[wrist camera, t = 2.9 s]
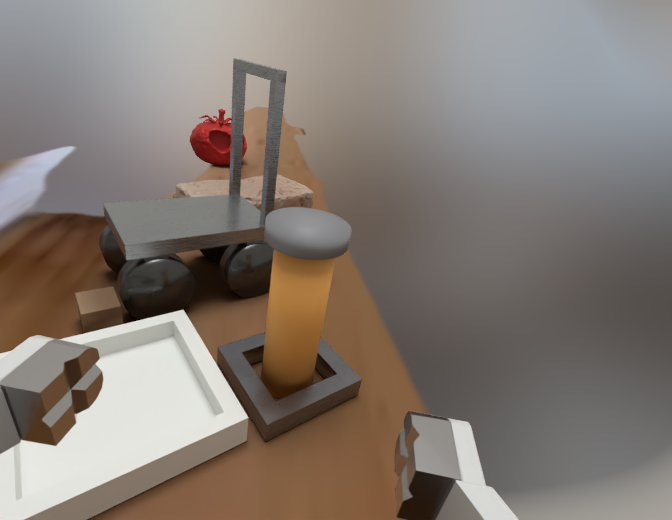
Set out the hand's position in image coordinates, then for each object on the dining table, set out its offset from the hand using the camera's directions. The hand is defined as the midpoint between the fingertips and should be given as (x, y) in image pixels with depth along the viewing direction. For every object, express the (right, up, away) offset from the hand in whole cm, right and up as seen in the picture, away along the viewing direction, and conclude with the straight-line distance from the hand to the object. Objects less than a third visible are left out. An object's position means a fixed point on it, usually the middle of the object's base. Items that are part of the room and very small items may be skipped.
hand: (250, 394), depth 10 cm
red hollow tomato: (-20, +22, +62) cm, 68 cm away
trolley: (-11, +2, +25) cm, 28 cm away
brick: (-10, +9, +41) cm, 43 cm away
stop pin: (-1, -5, +17) cm, 17 cm away
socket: (-1, -5, +17) cm, 17 cm away
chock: (-15, -1, +18) cm, 24 cm away
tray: (-11, -5, +12) cm, 17 cm away
